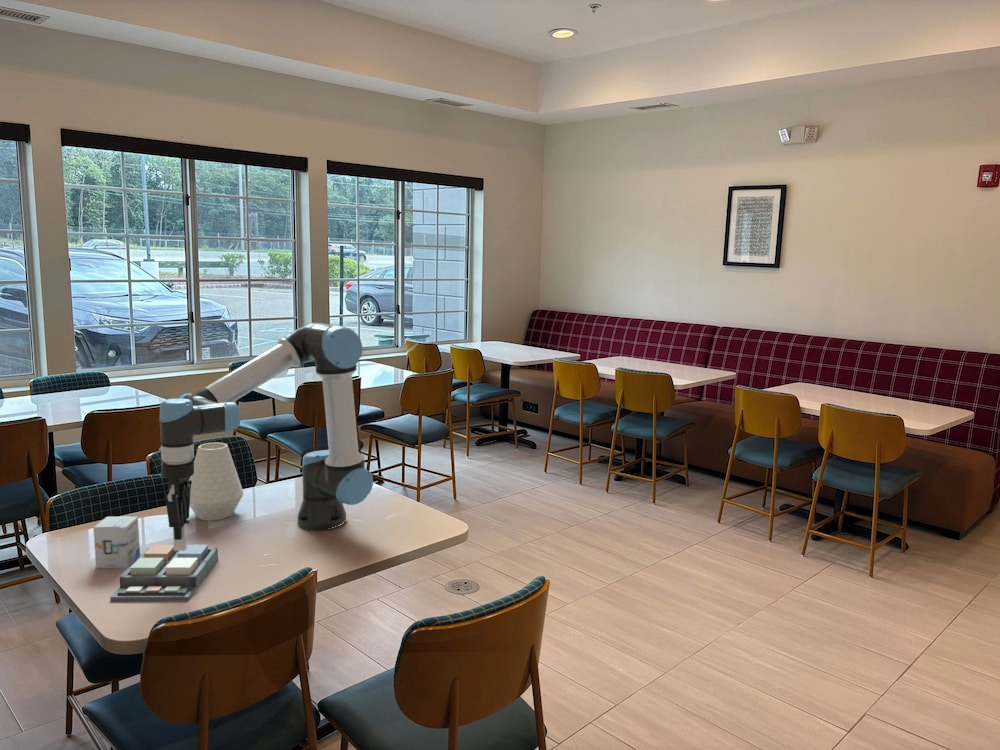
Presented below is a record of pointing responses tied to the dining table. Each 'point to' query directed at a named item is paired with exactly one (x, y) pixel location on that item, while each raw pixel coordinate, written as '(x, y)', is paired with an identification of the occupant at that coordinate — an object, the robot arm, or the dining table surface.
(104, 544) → the ink box
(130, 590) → the keypad
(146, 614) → the dining table surface
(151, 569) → the key sage
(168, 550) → the key terracotta
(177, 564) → the key cream
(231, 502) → the vase
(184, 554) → the key slate
